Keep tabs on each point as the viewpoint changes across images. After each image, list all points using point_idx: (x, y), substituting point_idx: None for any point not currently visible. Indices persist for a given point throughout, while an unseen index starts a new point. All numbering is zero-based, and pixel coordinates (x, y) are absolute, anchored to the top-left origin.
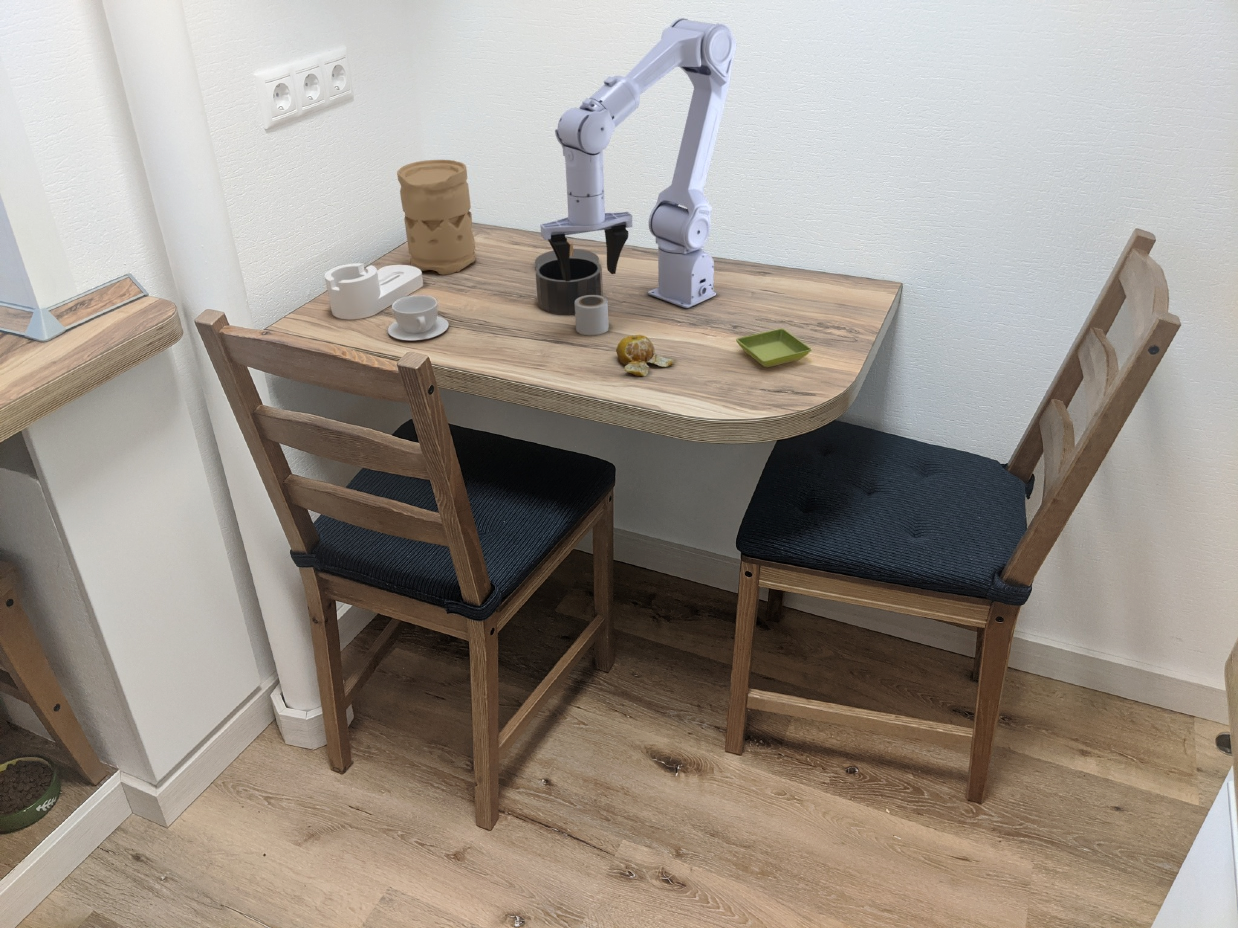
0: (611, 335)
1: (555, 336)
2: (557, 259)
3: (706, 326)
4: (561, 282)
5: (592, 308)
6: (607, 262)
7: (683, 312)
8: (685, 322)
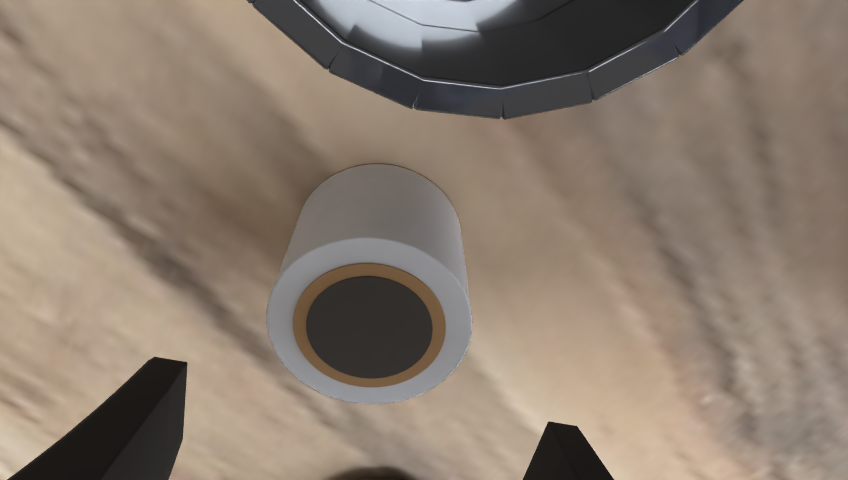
0: None
1: (178, 210)
2: (32, 461)
3: (768, 458)
4: (291, 38)
5: (329, 395)
6: (563, 476)
7: (825, 326)
8: (743, 398)
